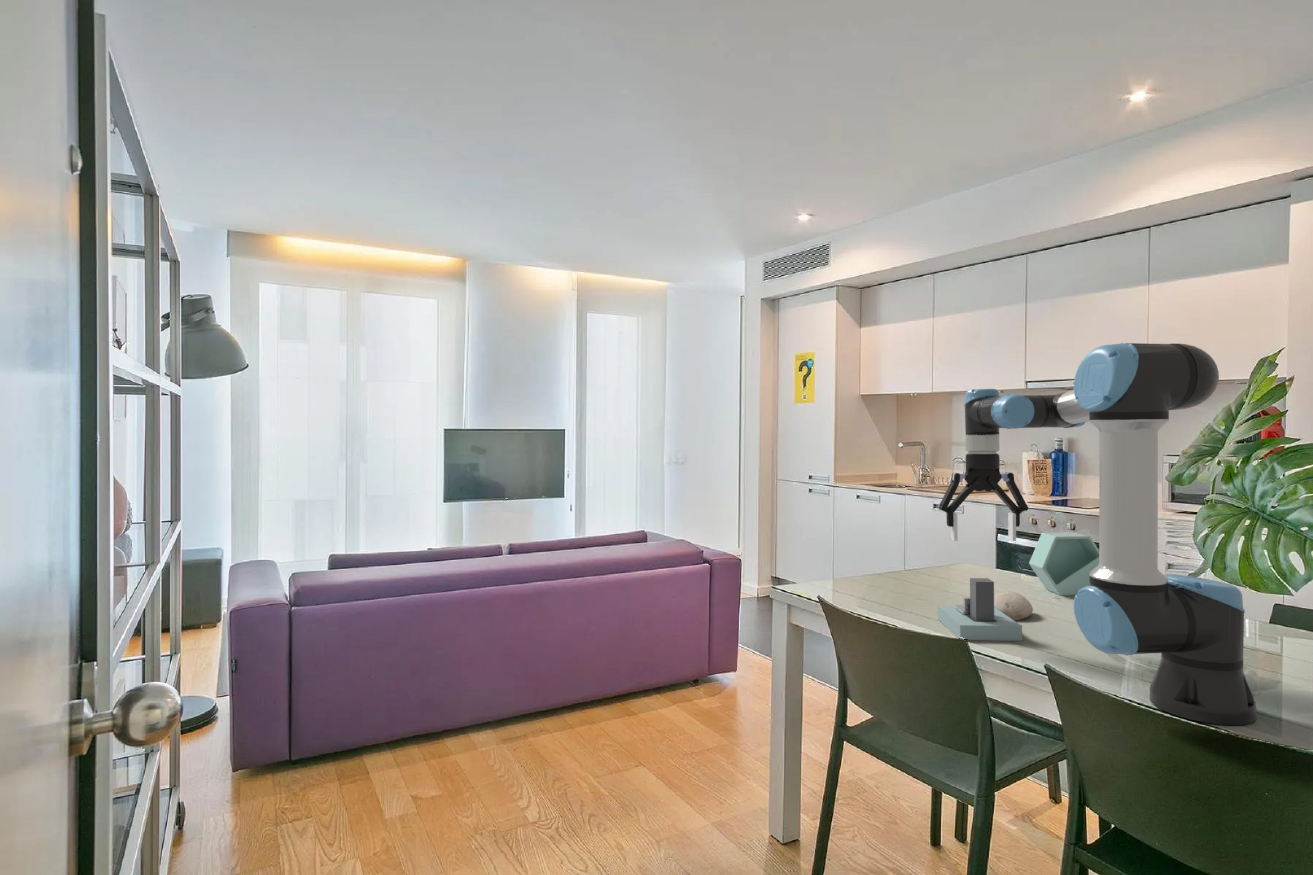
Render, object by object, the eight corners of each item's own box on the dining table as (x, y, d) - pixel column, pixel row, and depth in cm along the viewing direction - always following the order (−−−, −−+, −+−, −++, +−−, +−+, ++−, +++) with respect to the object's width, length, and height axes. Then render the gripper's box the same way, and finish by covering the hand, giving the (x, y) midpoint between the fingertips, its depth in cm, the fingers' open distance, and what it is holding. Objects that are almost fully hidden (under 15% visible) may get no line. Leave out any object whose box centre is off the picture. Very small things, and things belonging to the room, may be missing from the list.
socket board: (1022, 640, 169) (1022, 625, 169) (960, 639, 170) (960, 625, 170) (993, 620, 187) (993, 606, 187) (937, 619, 188) (937, 606, 188)
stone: (1005, 638, 187) (1022, 617, 182) (973, 610, 193) (989, 589, 188) (1028, 624, 194) (1044, 603, 190) (997, 598, 200) (1012, 578, 196)
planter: (1070, 610, 212) (1031, 552, 212) (1056, 604, 220) (1018, 548, 219) (1118, 578, 212) (1079, 520, 211) (1102, 573, 220) (1064, 517, 219)
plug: (994, 635, 173) (993, 581, 173) (976, 635, 173) (975, 581, 173) (987, 630, 177) (987, 578, 177) (970, 630, 178) (969, 578, 177)
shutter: (991, 614, 178) (991, 598, 178) (963, 613, 179) (963, 598, 179) (981, 607, 185) (981, 592, 185) (954, 606, 186) (954, 592, 185)
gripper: (1029, 451, 177) (1030, 537, 177) (925, 452, 179) (925, 537, 180) (1042, 452, 170) (1043, 542, 170) (933, 453, 172) (934, 542, 172)
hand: (983, 540), depth 175 cm, fingers open, 13 cm apart
